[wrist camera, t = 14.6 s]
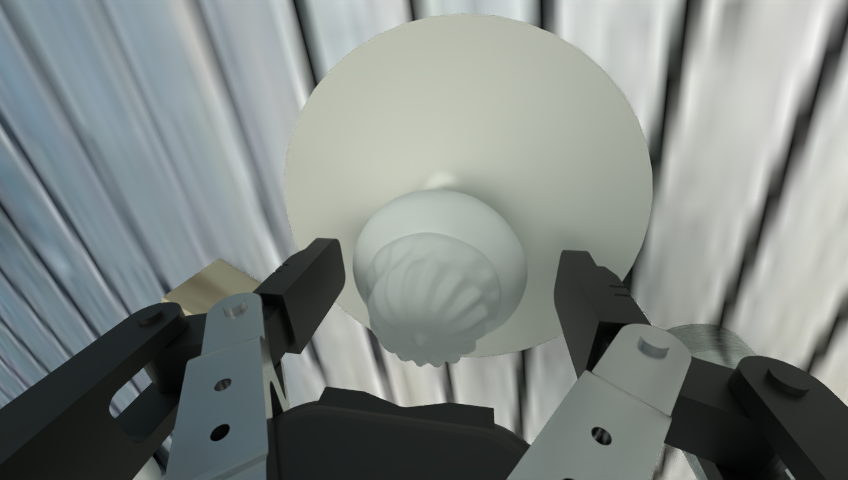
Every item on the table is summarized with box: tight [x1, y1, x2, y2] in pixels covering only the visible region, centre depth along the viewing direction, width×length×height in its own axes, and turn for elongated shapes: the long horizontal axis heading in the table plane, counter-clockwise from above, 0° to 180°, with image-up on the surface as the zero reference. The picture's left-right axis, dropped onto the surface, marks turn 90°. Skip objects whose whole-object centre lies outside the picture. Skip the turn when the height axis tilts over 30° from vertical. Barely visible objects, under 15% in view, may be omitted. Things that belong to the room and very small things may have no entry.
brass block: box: [161, 259, 262, 316], centre depth 19 cm, size 4×4×4 cm
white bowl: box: [284, 13, 653, 357], centre depth 15 cm, size 16×16×2 cm
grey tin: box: [666, 324, 795, 480], centre depth 14 cm, size 5×5×6 cm
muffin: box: [353, 189, 528, 367], centre depth 11 cm, size 6×6×7 cm
